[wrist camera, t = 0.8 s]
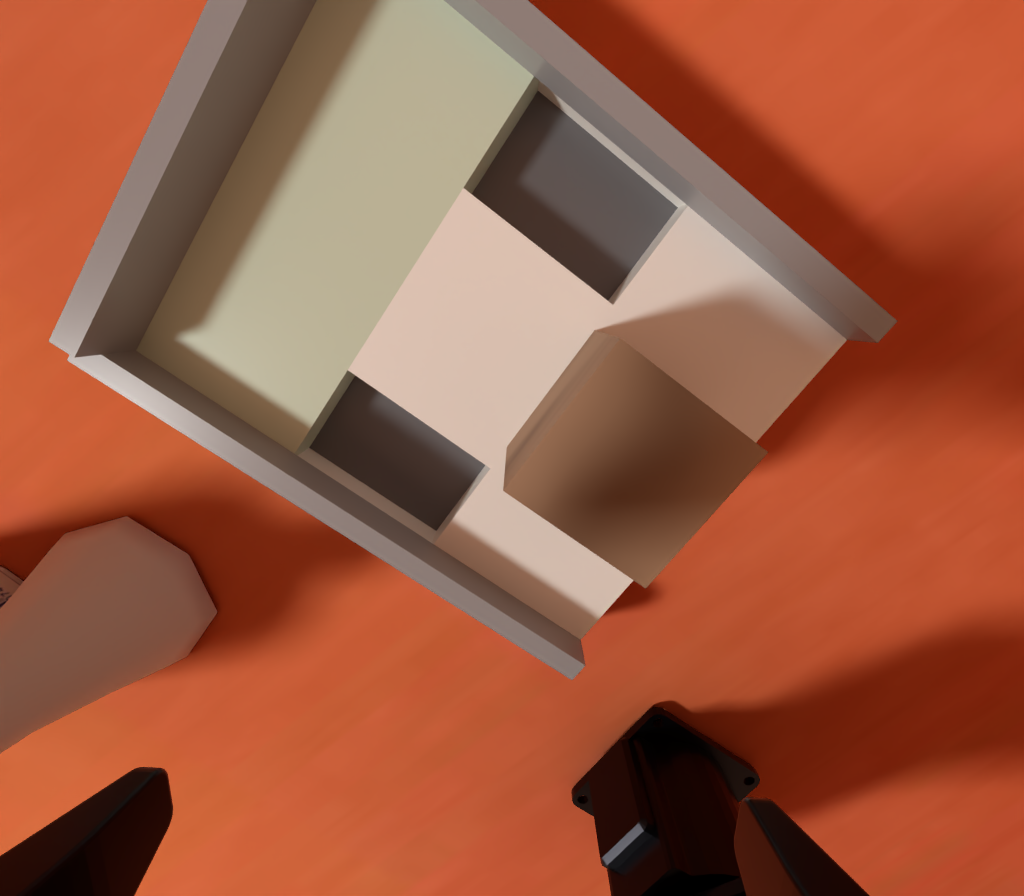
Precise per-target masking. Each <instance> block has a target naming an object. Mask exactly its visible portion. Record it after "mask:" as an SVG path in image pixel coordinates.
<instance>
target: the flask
mask: <svg viewBox="0 0 1024 896" xmlns="http://www.w3.org/2000/svg"><path fill="white" fill-rule="evenodd" d="M216 614H217V610H216V608H215V606H214V604H213V602H212V600H211V598H210V596H209V594H208V592H207V590H206V588H205V586H204V584H203V582H202V580H201V578H200V576H199V574H198V572H197V570H196V568H195V566H194V564H193V562H192V560H191V558H190V556H189V554H187V553H186V552H184V551H182V550H181V549H179V548H177V547H176V546H174V545H173V544H171V543H169V542H168V541H166V540H165V539H163V538H161V537H160V536H158V535H156V534H155V533H153V532H152V531H150V530H148V529H147V528H145V527H143V526H142V525H140V524H139V523H137V522H135V521H134V520H132V519H131V518H129V517H127V516H125V517H122V518H118V519H114V520H111V521H107V522H104V523H100V524H97V525H93V526H89V527H86V528H82V529H79V530H75V531H71V532H68V533H65V534H64V535H63V536H62V537H61V538H60V539H59V540H58V541H57V543H56V544H55V545H54V546H53V547H52V548H51V549H50V551H49V552H48V553H47V554H46V555H45V557H44V558H43V559H42V560H41V561H40V563H39V564H38V565H37V566H36V567H35V569H34V570H33V571H32V572H31V573H30V575H29V576H28V577H27V578H26V579H25V581H24V582H23V583H22V584H21V585H20V587H19V588H18V589H17V590H16V591H15V593H14V594H13V595H12V596H11V597H10V599H9V600H8V601H7V602H6V603H5V604H4V605H3V606H2V607H1V609H0V753H2V752H3V751H5V750H6V749H8V748H9V747H11V746H12V745H14V744H15V743H17V742H18V741H20V740H22V739H23V738H25V737H26V736H28V735H29V734H31V733H32V732H34V731H36V730H38V729H40V728H42V727H44V726H46V725H48V724H50V723H52V722H54V721H56V720H58V719H60V718H62V717H64V716H66V715H68V714H70V713H72V712H74V711H76V710H78V709H80V708H82V707H84V706H86V705H88V704H90V703H92V702H94V701H96V700H98V699H99V698H101V697H103V696H105V695H107V694H109V693H111V692H113V691H116V690H118V689H120V688H122V687H124V686H126V685H129V684H131V683H133V682H135V681H137V680H139V679H142V678H144V677H146V676H148V675H150V674H152V673H154V672H157V671H159V670H161V669H163V668H165V667H167V666H169V665H171V664H173V663H175V662H177V661H179V660H181V659H183V658H185V657H187V656H188V654H189V653H190V652H191V650H192V649H193V647H194V646H195V644H196V643H197V641H198V640H199V639H200V637H201V636H202V634H203V633H204V631H205V630H206V628H207V627H208V625H209V624H210V623H211V621H212V620H213V618H214V617H215V615H216Z"/></svg>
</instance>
